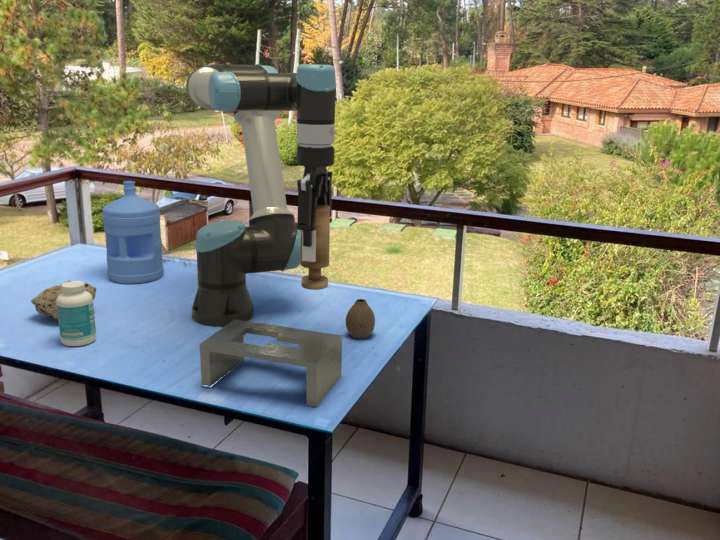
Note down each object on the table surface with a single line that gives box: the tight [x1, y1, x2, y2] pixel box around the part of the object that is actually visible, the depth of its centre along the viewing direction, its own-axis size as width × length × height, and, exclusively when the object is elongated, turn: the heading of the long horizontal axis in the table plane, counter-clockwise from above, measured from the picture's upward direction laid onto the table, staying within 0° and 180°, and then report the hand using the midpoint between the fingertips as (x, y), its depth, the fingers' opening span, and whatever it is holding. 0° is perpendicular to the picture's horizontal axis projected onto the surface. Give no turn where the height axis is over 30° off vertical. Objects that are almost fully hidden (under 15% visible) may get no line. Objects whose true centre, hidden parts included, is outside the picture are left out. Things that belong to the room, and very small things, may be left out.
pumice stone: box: [30, 280, 97, 321], centre depth 163 cm, size 14×12×8 cm
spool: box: [300, 204, 331, 291], centre depth 139 cm, size 6×6×17 cm
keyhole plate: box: [199, 319, 343, 408], centre depth 132 cm, size 24×14×9 cm, turn 72°
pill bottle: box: [56, 280, 97, 347], centre depth 148 cm, size 8×7×14 cm
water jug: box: [101, 180, 165, 285], centre depth 191 cm, size 16×16×28 cm
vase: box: [345, 298, 376, 340], centre depth 156 cm, size 7×7×9 cm
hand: (314, 256), depth 140 cm, fingers closed on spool, 6 cm apart
